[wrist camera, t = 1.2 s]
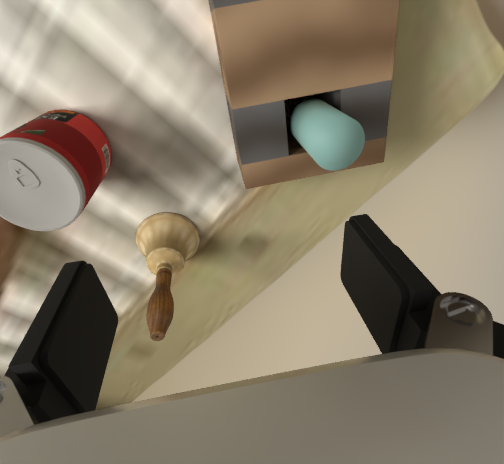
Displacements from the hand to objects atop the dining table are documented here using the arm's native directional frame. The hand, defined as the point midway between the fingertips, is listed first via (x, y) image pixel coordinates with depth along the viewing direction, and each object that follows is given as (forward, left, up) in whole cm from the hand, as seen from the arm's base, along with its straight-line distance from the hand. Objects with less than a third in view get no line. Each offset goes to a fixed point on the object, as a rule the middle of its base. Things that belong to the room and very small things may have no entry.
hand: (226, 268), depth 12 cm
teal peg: (+1, +9, -21) cm, 23 cm away
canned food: (+1, -15, -27) cm, 31 cm away
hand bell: (+15, -9, -27) cm, 32 cm away
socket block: (-5, +9, -27) cm, 28 cm away
